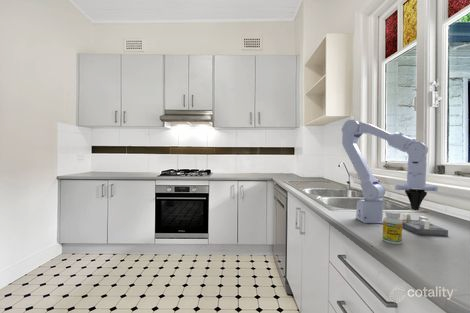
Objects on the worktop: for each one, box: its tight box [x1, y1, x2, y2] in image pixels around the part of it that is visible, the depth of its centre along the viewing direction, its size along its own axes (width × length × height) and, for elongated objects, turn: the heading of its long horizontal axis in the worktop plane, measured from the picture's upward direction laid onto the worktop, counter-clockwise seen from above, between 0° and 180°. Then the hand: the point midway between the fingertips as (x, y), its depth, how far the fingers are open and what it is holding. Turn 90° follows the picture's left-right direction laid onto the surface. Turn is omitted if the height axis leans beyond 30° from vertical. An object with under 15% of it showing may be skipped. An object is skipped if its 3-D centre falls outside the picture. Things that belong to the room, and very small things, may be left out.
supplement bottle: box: [382, 210, 403, 245], centre depth 82 cm, size 5×5×10 cm
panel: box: [401, 212, 449, 237], centre depth 96 cm, size 10×13×5 cm
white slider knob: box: [418, 215, 429, 223], centre depth 96 cm, size 2×2×2 cm, turn 177°
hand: (414, 209), depth 96 cm, fingers closed
